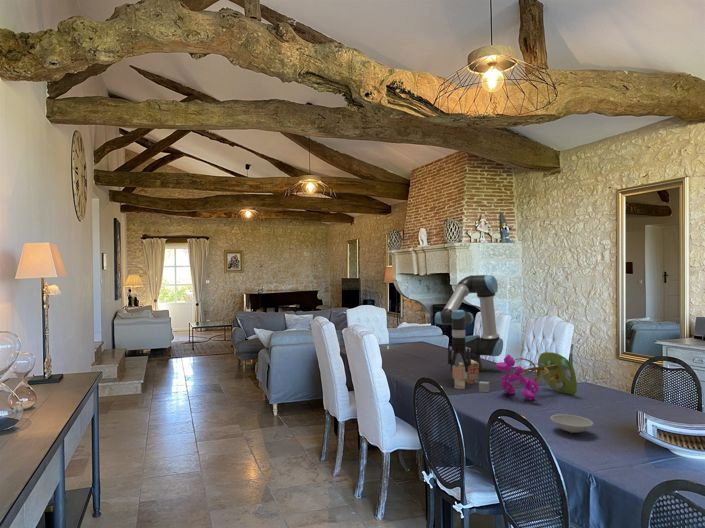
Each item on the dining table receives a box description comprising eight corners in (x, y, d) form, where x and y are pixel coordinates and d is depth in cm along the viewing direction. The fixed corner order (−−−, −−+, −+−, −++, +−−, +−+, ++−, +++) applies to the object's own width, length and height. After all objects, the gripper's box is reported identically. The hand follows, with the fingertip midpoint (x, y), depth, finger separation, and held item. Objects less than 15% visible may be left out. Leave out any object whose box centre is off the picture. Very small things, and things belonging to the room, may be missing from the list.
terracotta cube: (457, 376, 294) (456, 366, 294) (466, 377, 290) (466, 367, 290) (452, 378, 289) (452, 367, 289) (462, 379, 285) (462, 368, 285)
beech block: (455, 385, 294) (455, 376, 295) (465, 385, 293) (465, 377, 293) (454, 388, 286) (454, 379, 286) (464, 389, 284) (464, 380, 284)
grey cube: (480, 390, 280) (480, 381, 280) (489, 390, 278) (489, 381, 278) (479, 392, 275) (479, 383, 276) (488, 392, 274) (488, 383, 274)
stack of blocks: (458, 377, 318) (457, 357, 319) (467, 376, 319) (467, 357, 319) (469, 384, 297) (468, 363, 297) (479, 383, 297) (478, 362, 298)
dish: (542, 428, 208) (541, 416, 209) (571, 424, 213) (570, 412, 213) (572, 441, 192) (571, 428, 192) (603, 437, 196) (602, 424, 196)
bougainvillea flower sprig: (570, 338, 260) (515, 353, 248) (589, 393, 254) (533, 411, 242) (533, 346, 288) (482, 360, 275) (550, 396, 281) (498, 412, 269)
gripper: (440, 336, 293) (441, 376, 292) (471, 338, 282) (473, 380, 281) (446, 335, 299) (447, 374, 298) (477, 337, 288) (478, 377, 287)
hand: (459, 377), depth 290 cm, fingers closed on terracotta cube, 6 cm apart
